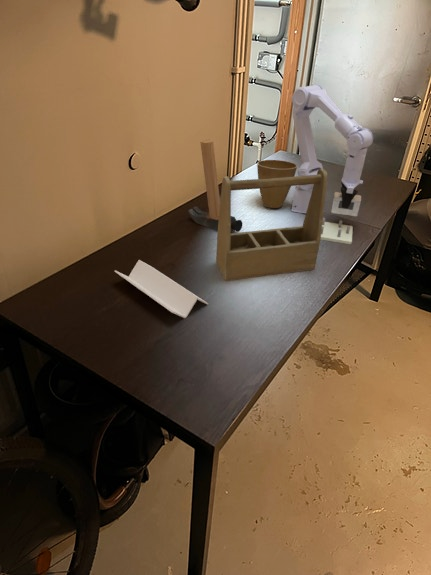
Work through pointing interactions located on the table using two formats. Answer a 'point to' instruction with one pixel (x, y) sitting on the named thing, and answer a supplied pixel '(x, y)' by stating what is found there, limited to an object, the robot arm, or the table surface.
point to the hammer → (211, 192)
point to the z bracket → (162, 289)
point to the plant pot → (275, 170)
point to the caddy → (270, 233)
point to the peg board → (336, 232)
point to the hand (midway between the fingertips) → (345, 204)
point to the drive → (350, 210)
